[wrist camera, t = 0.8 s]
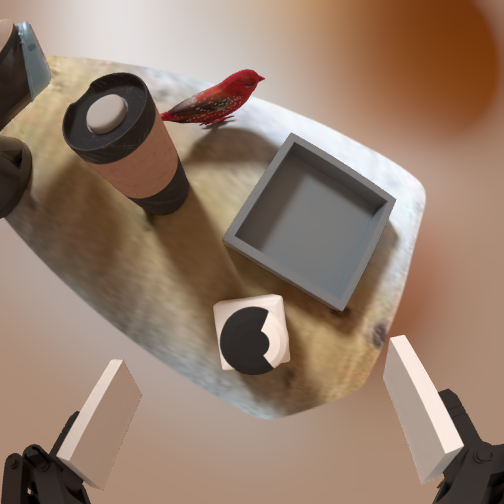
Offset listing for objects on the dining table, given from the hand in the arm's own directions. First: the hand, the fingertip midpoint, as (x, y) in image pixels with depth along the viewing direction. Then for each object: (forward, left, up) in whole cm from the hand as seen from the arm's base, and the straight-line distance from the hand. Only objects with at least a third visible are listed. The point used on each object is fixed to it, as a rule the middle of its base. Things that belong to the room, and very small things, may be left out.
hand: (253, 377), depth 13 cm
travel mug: (-18, +9, -23) cm, 31 cm away
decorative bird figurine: (-19, +20, -23) cm, 36 cm away
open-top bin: (+1, +15, -23) cm, 27 cm away
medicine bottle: (+1, 0, -23) cm, 23 cm away
